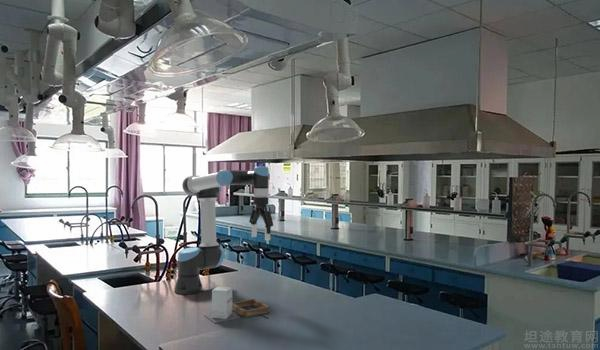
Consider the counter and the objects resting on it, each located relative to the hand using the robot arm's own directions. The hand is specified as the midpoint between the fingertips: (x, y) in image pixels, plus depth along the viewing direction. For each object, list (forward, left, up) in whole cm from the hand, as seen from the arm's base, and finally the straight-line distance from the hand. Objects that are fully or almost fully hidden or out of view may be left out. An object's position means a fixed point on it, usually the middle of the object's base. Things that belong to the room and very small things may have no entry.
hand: (260, 238), depth 209 cm
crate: (+8, -10, -33) cm, 35 cm away
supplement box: (+9, -25, -32) cm, 42 cm away
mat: (+9, -25, -33) cm, 42 cm away
